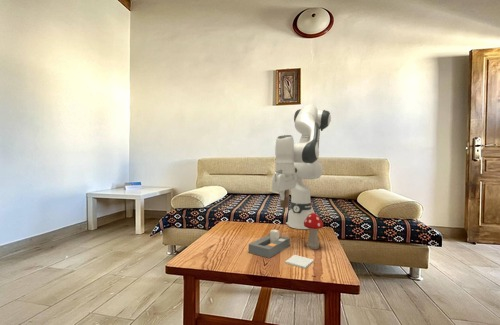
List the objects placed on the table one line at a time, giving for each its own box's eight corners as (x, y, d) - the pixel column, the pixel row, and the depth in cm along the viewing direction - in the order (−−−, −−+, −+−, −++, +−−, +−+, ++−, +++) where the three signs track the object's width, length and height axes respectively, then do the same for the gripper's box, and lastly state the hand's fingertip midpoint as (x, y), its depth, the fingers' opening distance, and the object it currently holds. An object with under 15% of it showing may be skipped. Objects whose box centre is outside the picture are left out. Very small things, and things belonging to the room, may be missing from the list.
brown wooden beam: (288, 206, 112) (288, 185, 112) (286, 207, 109) (286, 186, 109) (283, 206, 114) (283, 185, 113) (280, 207, 111) (280, 185, 111)
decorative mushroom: (323, 251, 101) (324, 216, 101) (303, 249, 103) (303, 215, 103) (322, 244, 110) (323, 211, 110) (303, 242, 112) (303, 210, 112)
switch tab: (273, 241, 109) (273, 229, 109) (279, 242, 107) (279, 230, 107) (270, 243, 106) (270, 230, 106) (276, 244, 105) (276, 232, 105)
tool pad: (294, 256, 96) (294, 254, 96) (313, 261, 91) (313, 259, 91) (285, 262, 89) (285, 261, 89) (305, 268, 84) (305, 266, 84)
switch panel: (270, 241, 114) (270, 233, 114) (289, 245, 108) (289, 237, 108) (248, 252, 99) (248, 243, 99) (269, 258, 93) (269, 249, 93)
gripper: (281, 170, 101) (281, 203, 101) (298, 169, 118) (298, 196, 118) (268, 170, 104) (268, 202, 104) (286, 168, 121) (286, 195, 122)
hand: (284, 199), depth 111 cm, fingers closed on brown wooden beam, 3 cm apart
